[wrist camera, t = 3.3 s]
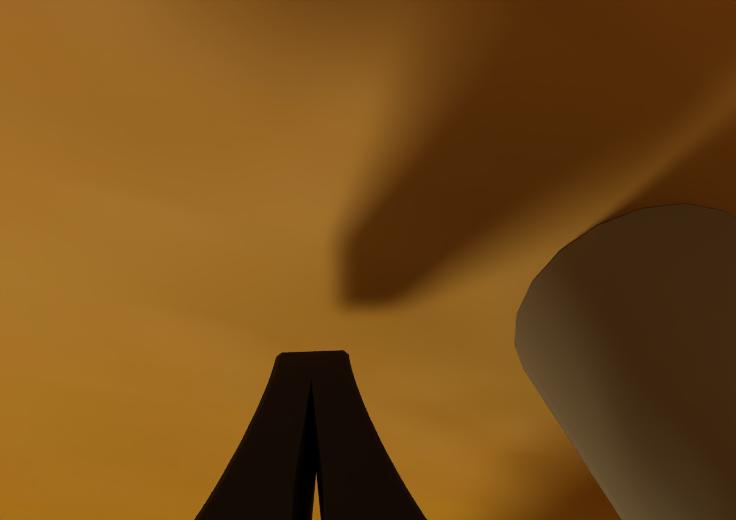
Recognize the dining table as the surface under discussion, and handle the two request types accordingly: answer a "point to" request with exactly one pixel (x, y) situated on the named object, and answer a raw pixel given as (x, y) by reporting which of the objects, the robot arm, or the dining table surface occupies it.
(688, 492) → the cork
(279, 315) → the dining table surface
